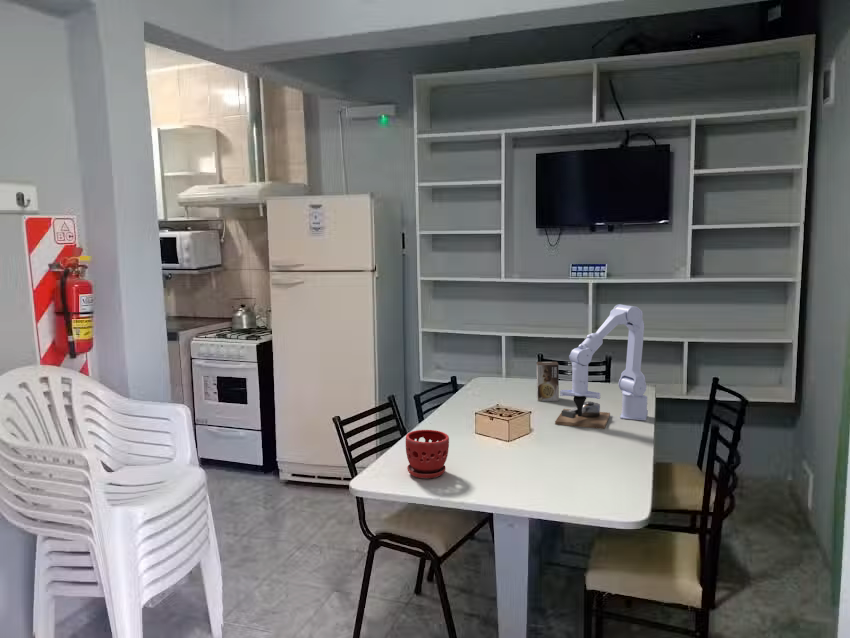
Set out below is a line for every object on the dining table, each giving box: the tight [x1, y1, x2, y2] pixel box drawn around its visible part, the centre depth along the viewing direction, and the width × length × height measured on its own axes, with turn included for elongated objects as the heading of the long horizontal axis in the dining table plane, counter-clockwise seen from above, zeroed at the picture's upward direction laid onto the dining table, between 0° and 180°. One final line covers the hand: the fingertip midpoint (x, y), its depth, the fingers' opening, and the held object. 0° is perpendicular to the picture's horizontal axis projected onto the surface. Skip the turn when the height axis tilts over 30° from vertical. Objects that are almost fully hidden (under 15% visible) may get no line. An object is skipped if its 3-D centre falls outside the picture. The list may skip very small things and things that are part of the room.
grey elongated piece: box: [561, 401, 601, 418], centre depth 237 cm, size 18×8×5 cm, turn 131°
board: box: [554, 408, 611, 430], centre depth 239 cm, size 18×18×1 cm
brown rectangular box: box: [536, 361, 560, 402], centre depth 269 cm, size 9×6×16 cm
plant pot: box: [405, 429, 450, 479], centre depth 188 cm, size 13×13×12 cm
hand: (579, 415), depth 234 cm, fingers closed
